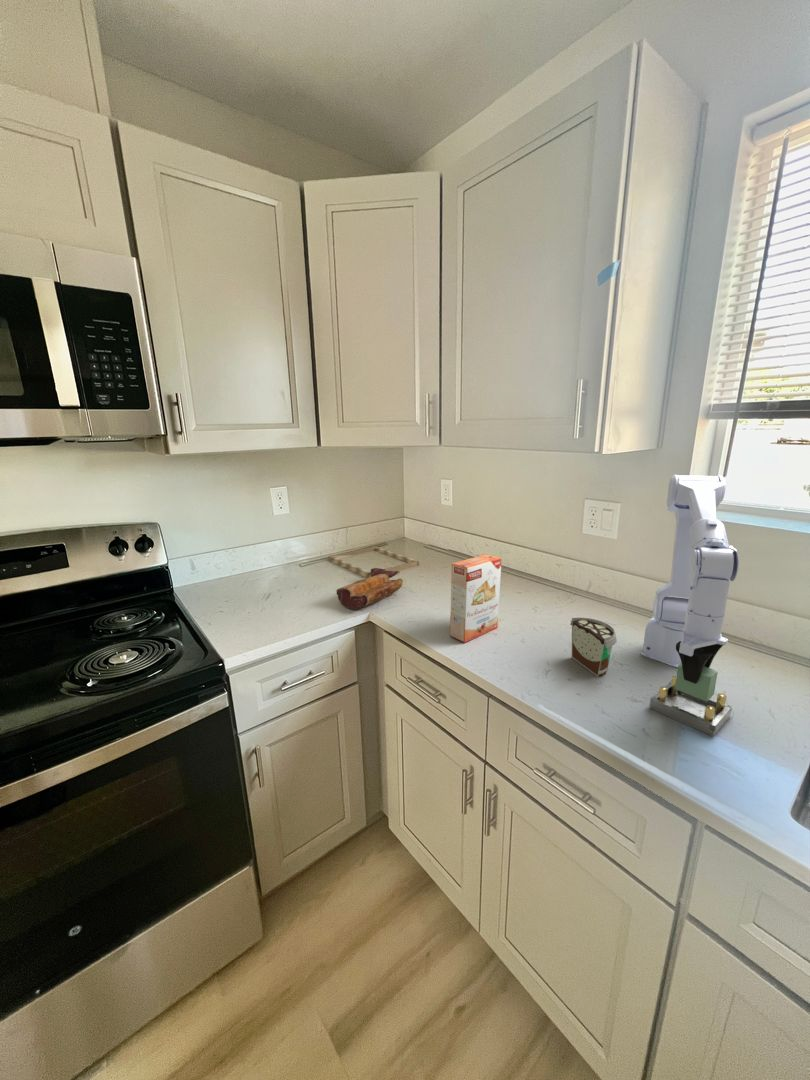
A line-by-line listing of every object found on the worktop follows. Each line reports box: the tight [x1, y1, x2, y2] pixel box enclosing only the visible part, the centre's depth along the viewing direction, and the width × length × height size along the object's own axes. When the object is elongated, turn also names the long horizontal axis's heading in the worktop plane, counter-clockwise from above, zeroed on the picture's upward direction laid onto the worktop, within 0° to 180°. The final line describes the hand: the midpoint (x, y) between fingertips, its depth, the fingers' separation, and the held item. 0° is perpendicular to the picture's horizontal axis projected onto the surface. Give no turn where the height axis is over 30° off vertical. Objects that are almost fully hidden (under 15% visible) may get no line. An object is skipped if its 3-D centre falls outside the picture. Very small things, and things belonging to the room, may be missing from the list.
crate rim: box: [328, 546, 420, 579], centre depth 183 cm, size 31×24×3 cm
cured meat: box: [336, 567, 404, 611], centre depth 148 cm, size 18×25×7 cm
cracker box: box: [449, 553, 503, 644], centre depth 119 cm, size 14×6×21 cm, turn 130°
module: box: [675, 663, 719, 702], centre depth 84 cm, size 6×4×6 cm, turn 38°
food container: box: [569, 617, 617, 678], centre depth 103 cm, size 12×6×10 cm, turn 17°
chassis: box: [649, 675, 733, 737], centre depth 86 cm, size 11×9×4 cm
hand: (694, 677), depth 84 cm, fingers closed on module, 4 cm apart
